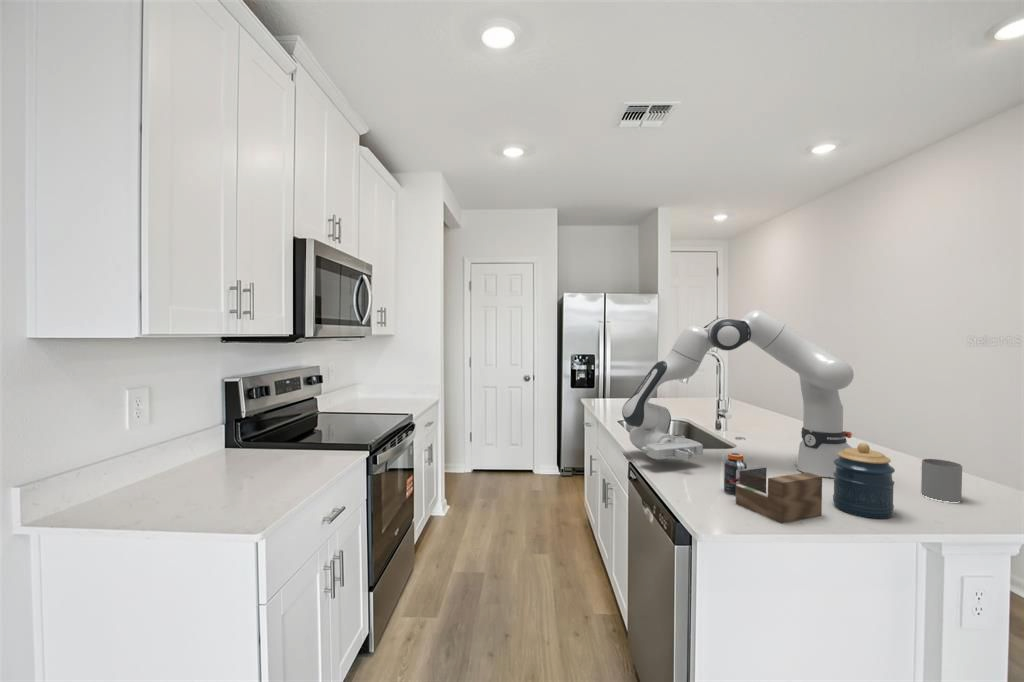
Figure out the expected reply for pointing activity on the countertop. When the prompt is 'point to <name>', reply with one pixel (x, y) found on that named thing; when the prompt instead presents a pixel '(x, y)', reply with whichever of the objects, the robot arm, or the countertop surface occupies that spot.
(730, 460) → the pill bottle
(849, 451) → the canister
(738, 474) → the brushed metal plate
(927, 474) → the cup
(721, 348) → the robot arm
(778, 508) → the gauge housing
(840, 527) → the countertop surface
